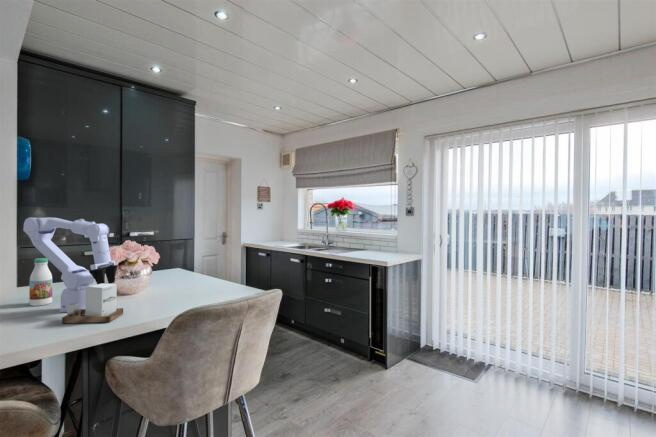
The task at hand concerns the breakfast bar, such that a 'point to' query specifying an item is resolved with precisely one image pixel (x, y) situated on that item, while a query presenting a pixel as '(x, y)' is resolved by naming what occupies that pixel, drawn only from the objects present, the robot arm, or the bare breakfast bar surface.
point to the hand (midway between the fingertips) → (106, 284)
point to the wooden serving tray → (75, 317)
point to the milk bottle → (40, 284)
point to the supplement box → (100, 299)
